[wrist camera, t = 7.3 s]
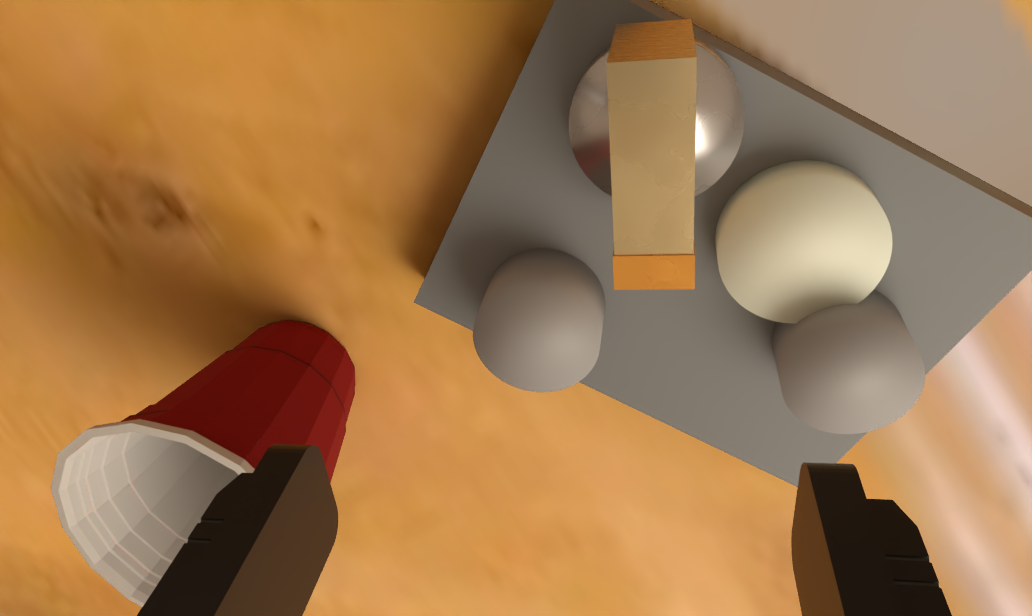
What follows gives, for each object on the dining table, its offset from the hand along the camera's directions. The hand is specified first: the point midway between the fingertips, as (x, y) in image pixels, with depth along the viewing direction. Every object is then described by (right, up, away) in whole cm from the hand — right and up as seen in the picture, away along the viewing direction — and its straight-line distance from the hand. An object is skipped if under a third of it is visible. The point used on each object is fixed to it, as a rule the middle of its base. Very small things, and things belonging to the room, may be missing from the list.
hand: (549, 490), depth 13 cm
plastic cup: (-12, 0, +27) cm, 29 cm away
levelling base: (+7, +6, +19) cm, 22 cm away
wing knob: (+4, +10, +15) cm, 18 cm away
